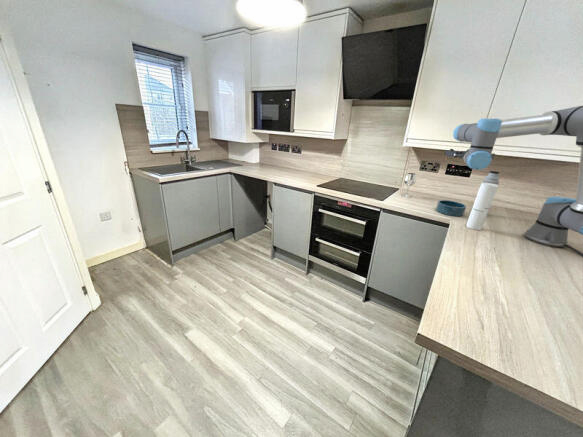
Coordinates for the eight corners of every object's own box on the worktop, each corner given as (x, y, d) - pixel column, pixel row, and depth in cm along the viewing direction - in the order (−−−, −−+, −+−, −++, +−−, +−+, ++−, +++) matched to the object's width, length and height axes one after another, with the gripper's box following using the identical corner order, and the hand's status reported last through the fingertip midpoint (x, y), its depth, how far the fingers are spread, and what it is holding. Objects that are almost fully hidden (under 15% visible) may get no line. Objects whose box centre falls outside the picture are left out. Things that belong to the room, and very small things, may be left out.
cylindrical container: (484, 230, 130) (502, 186, 120) (471, 229, 130) (488, 185, 120) (475, 225, 137) (491, 183, 127) (463, 224, 137) (478, 182, 127)
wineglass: (402, 194, 194) (407, 172, 187) (413, 196, 189) (418, 173, 182) (399, 195, 188) (404, 173, 181) (410, 198, 183) (415, 175, 176)
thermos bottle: (487, 216, 151) (504, 173, 140) (472, 214, 154) (488, 171, 143) (485, 213, 157) (501, 171, 147) (470, 210, 161) (485, 169, 150)
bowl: (469, 217, 149) (472, 208, 146) (445, 216, 148) (448, 207, 146) (452, 208, 163) (455, 200, 161) (430, 208, 162) (433, 199, 160)
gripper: (439, 162, 112) (437, 157, 130) (505, 168, 102) (493, 162, 119) (443, 146, 109) (441, 143, 127) (512, 151, 99) (499, 147, 116)
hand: (466, 153), depth 123 cm, fingers open, 13 cm apart
